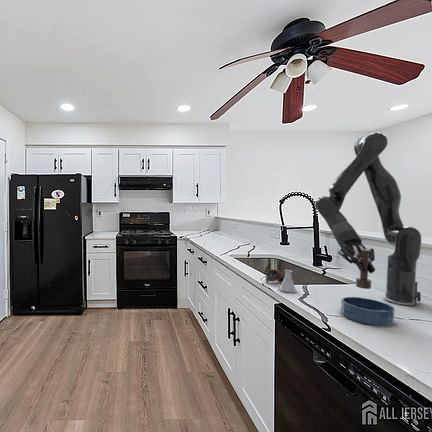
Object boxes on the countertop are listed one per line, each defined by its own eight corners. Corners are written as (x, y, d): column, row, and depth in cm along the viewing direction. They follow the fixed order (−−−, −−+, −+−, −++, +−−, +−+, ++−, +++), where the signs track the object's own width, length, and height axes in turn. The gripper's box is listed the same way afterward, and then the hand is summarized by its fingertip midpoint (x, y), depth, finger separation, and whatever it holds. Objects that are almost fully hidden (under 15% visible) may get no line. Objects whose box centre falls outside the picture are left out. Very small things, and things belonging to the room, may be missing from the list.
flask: (295, 294, 131) (296, 272, 131) (278, 291, 135) (279, 270, 135) (296, 290, 138) (297, 269, 137) (280, 287, 141) (281, 267, 141)
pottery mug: (289, 287, 144) (283, 273, 143) (271, 293, 147) (265, 280, 146) (283, 275, 155) (277, 263, 154) (266, 281, 158) (260, 269, 157)
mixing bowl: (368, 310, 112) (369, 296, 112) (405, 327, 97) (406, 311, 97) (331, 310, 111) (332, 296, 111) (363, 327, 96) (364, 311, 96)
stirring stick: (364, 285, 108) (366, 249, 107) (374, 288, 103) (376, 251, 103) (353, 285, 107) (354, 249, 107) (362, 288, 103) (364, 251, 102)
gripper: (333, 229, 111) (357, 266, 100) (367, 229, 112) (394, 266, 100) (324, 240, 117) (345, 277, 105) (356, 240, 118) (380, 277, 106)
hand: (369, 271), depth 103 cm, fingers closed on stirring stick, 2 cm apart
